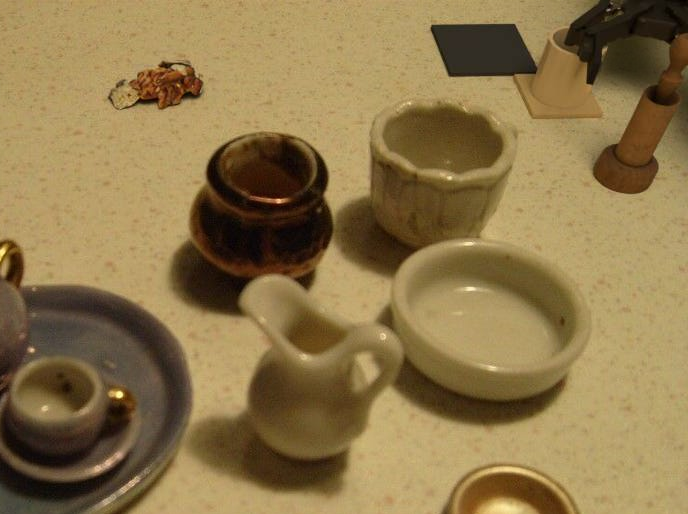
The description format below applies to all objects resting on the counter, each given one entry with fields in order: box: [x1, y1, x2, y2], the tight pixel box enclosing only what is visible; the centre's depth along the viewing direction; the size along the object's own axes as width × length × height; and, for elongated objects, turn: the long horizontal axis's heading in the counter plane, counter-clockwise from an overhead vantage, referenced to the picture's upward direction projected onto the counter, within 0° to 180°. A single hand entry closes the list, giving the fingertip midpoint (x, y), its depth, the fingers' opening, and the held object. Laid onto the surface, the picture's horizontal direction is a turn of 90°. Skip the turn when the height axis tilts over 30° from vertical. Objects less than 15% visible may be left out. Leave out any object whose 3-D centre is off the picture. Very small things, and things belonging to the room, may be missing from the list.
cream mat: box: [513, 74, 604, 119], centre depth 111 cm, size 9×9×1 cm
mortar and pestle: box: [593, 33, 688, 194], centre depth 94 cm, size 7×6×18 cm
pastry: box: [107, 58, 205, 110], centre depth 109 cm, size 7×12×4 cm, turn 116°
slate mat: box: [430, 23, 538, 77], centre depth 118 cm, size 12×12×1 cm
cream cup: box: [531, 25, 609, 109], centre depth 108 cm, size 7×7×8 cm
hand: (656, 85), depth 96 cm, fingers open, 13 cm apart
